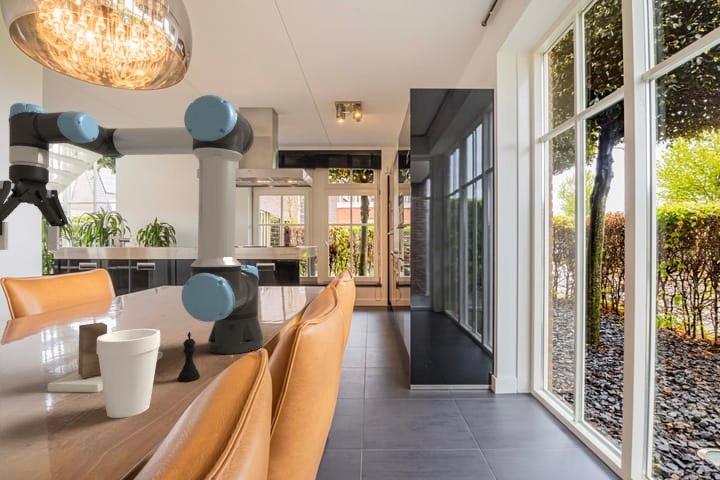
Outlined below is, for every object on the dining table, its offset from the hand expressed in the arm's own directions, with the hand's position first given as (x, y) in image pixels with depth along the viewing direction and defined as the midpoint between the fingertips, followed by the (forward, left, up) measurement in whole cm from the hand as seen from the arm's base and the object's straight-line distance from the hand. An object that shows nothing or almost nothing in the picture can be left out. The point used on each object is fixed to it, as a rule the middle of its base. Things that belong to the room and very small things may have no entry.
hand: (29, 250), depth 91 cm
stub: (-28, +14, -26) cm, 41 cm away
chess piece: (-47, +11, -28) cm, 56 cm away
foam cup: (-44, +26, -28) cm, 58 cm away
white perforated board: (-28, +8, -27) cm, 40 cm away
